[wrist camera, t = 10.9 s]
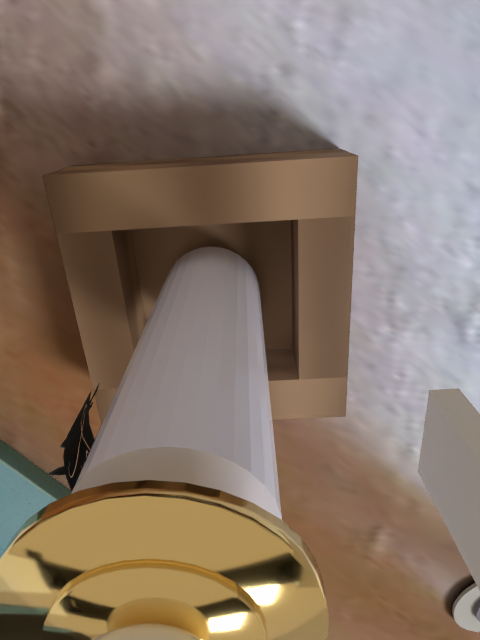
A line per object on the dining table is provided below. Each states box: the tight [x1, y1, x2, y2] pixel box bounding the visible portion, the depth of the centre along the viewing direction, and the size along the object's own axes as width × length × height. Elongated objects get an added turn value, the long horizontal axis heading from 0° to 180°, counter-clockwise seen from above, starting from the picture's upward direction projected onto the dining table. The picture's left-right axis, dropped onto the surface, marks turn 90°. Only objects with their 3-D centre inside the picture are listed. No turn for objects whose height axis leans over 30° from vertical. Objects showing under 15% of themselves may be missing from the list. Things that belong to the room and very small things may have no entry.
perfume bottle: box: [0, 247, 329, 640], centre depth 13 cm, size 6×6×20 cm
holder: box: [43, 149, 358, 424], centre depth 21 cm, size 12×12×4 cm
